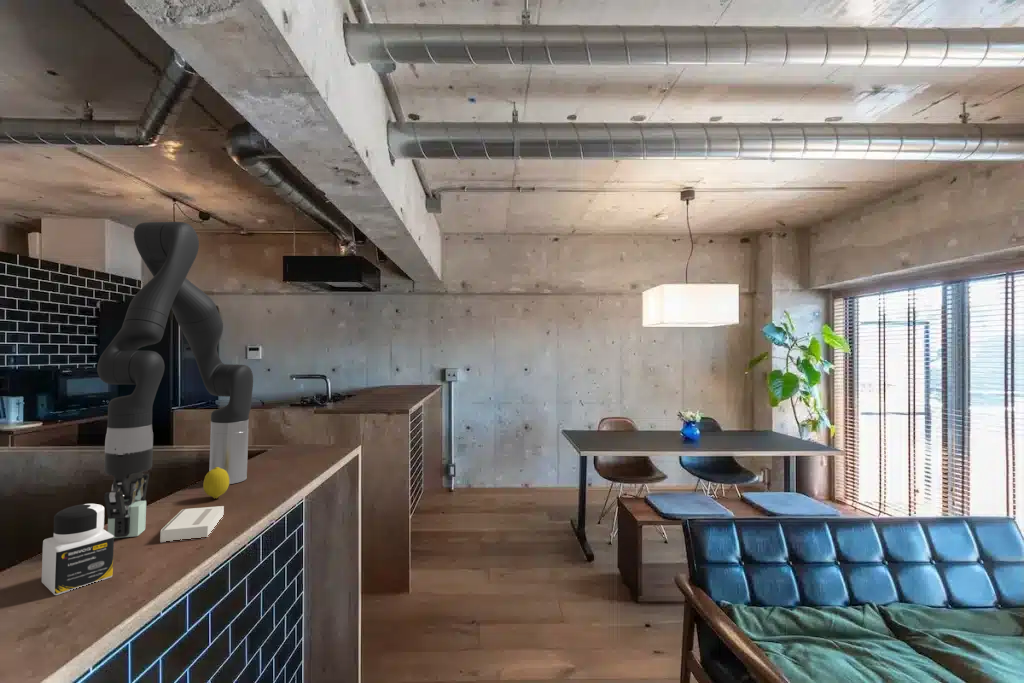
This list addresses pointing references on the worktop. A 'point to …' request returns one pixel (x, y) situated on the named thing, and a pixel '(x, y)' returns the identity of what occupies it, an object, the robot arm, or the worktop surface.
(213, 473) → the lemon
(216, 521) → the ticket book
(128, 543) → the worktop surface
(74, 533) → the medicine bottle
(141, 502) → the pale green block
